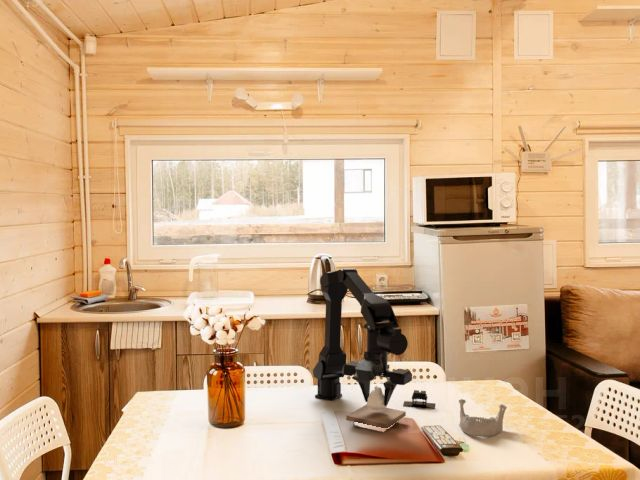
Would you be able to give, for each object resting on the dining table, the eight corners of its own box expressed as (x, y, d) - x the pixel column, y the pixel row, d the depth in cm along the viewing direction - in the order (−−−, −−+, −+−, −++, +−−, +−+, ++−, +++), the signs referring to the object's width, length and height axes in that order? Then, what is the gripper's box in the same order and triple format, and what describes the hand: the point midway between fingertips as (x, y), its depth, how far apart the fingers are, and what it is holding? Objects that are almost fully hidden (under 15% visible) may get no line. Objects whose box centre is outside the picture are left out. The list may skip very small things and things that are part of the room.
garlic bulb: (391, 386, 168) (377, 390, 164) (390, 408, 168) (377, 412, 165) (376, 382, 172) (362, 386, 168) (375, 403, 172) (362, 407, 169)
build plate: (440, 404, 188) (441, 390, 188) (439, 412, 181) (440, 397, 181) (400, 401, 191) (400, 387, 190) (397, 408, 184) (397, 393, 183)
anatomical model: (451, 432, 160) (453, 393, 163) (456, 436, 170) (459, 399, 173) (502, 439, 156) (504, 399, 159) (505, 442, 165) (507, 404, 168)
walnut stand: (346, 426, 167) (346, 415, 167) (367, 414, 177) (367, 403, 177) (386, 435, 160) (386, 424, 160) (405, 422, 170) (405, 411, 170)
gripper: (332, 348, 166) (331, 405, 167) (395, 358, 156) (394, 418, 157) (352, 341, 175) (352, 395, 176) (413, 349, 165) (412, 406, 166)
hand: (376, 403), depth 168 cm, fingers closed on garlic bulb, 5 cm apart
